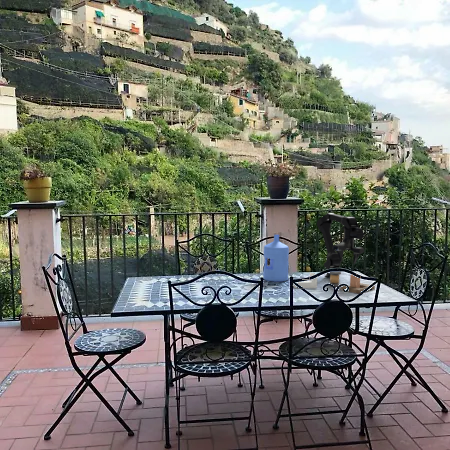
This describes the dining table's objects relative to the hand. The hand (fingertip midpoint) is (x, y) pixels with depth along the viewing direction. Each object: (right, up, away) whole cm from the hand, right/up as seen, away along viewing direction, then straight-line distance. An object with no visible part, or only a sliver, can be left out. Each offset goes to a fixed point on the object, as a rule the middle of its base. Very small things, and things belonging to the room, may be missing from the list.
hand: (347, 262), depth 264 cm
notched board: (0, -14, -20) cm, 24 cm away
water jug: (-44, -11, +5) cm, 45 cm away
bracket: (-29, -13, -14) cm, 35 cm away
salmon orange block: (-1, -14, -18) cm, 23 cm away
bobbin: (-10, -13, -9) cm, 19 cm away
